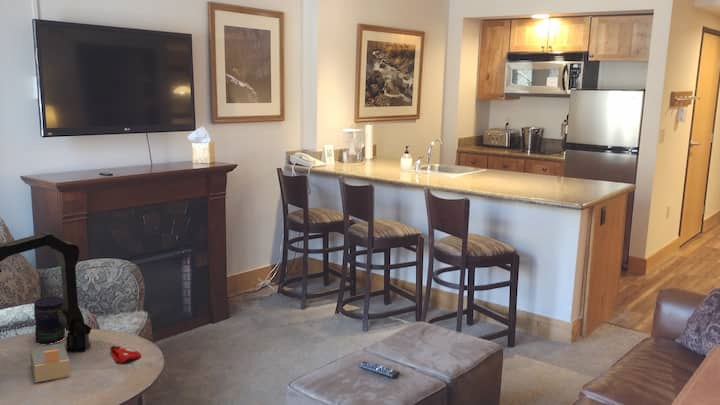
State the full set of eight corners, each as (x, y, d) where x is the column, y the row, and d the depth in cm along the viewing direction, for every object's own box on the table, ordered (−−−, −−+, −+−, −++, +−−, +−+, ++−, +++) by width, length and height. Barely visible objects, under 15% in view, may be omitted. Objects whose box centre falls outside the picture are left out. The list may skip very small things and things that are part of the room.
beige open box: (31, 364, 204) (29, 337, 202) (64, 358, 209) (63, 332, 208) (35, 382, 192) (34, 354, 190) (70, 375, 197) (69, 348, 196)
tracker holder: (145, 350, 218) (136, 355, 209) (141, 362, 218) (132, 367, 208) (112, 340, 218) (102, 345, 208) (109, 352, 218) (98, 358, 208)
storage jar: (38, 335, 229) (36, 297, 226) (67, 333, 232) (65, 296, 229) (33, 346, 219) (31, 306, 217) (63, 343, 222) (61, 305, 220)
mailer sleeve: (31, 365, 205) (30, 348, 203) (63, 359, 210) (63, 343, 209) (35, 382, 193) (34, 364, 192) (69, 376, 198) (69, 358, 197)
